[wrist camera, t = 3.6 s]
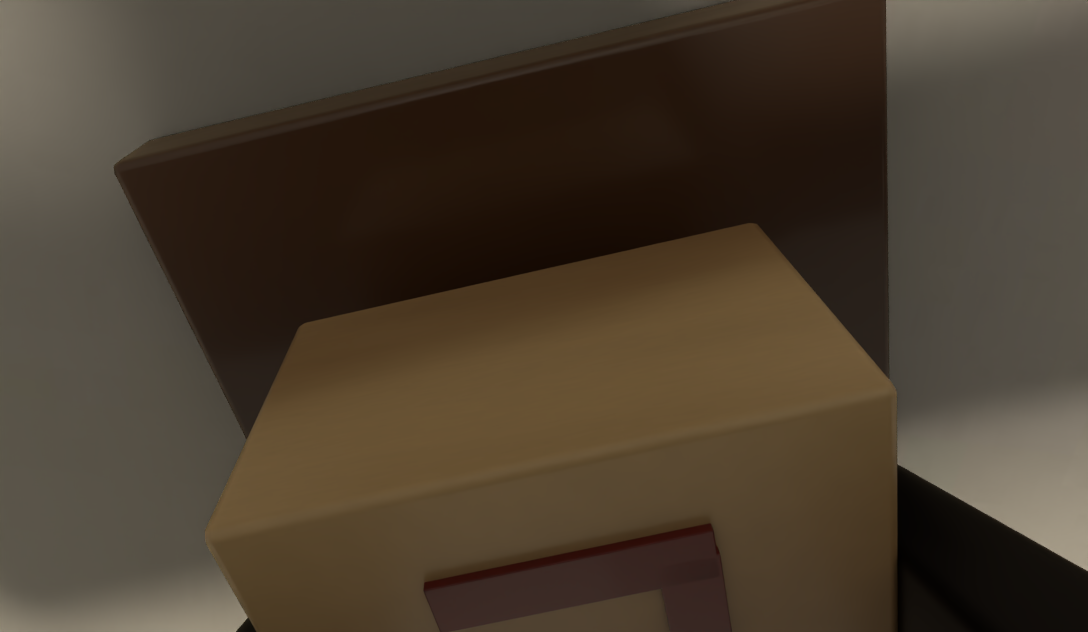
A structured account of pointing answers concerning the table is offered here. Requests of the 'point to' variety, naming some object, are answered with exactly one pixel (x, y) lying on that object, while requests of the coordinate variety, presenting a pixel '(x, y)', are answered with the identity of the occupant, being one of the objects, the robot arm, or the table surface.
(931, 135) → the table surface
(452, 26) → the table surface
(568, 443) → the number block
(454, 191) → the strip
